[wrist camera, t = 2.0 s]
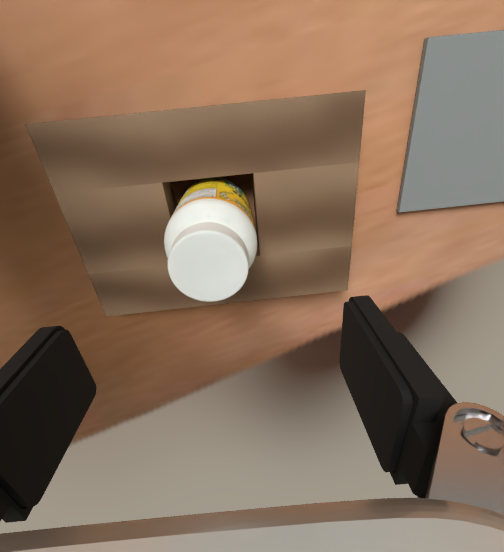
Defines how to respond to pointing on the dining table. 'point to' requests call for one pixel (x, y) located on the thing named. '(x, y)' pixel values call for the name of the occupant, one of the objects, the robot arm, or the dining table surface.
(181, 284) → the supplement bottle
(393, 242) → the dining table surface
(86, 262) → the brown board with hole
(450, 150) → the rubber mat
